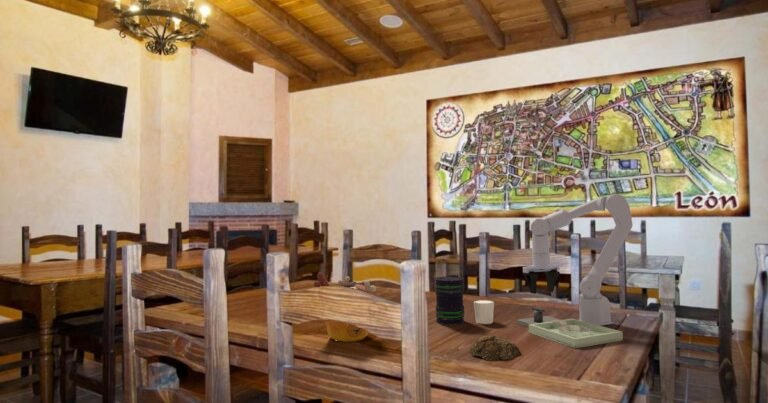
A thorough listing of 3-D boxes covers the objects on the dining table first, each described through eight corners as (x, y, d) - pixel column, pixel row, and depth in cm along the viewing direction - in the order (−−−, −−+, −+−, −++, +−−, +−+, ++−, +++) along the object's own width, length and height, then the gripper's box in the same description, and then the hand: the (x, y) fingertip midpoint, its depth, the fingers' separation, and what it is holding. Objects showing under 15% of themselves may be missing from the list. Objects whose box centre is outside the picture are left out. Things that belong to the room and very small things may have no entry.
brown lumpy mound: (483, 345, 136) (482, 327, 136) (524, 352, 128) (524, 334, 128) (460, 356, 126) (460, 337, 126) (503, 365, 118) (503, 345, 118)
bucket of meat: (384, 332, 151) (383, 269, 151) (370, 346, 135) (369, 276, 135) (326, 329, 156) (325, 268, 156) (305, 343, 140) (304, 275, 140)
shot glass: (494, 324, 159) (494, 303, 159) (474, 324, 160) (473, 303, 160) (494, 320, 165) (493, 300, 165) (474, 319, 167) (473, 299, 167)
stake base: (547, 319, 165) (546, 303, 165) (570, 326, 155) (570, 308, 155) (516, 323, 160) (516, 306, 160) (539, 330, 150) (538, 312, 150)
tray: (573, 326, 155) (572, 318, 155) (622, 340, 137) (622, 331, 137) (528, 332, 148) (528, 324, 148) (575, 348, 130) (574, 339, 130)
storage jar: (463, 318, 169) (462, 276, 169) (465, 325, 159) (464, 280, 159) (435, 318, 170) (434, 276, 170) (435, 324, 160) (434, 280, 160)
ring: (597, 335, 140) (597, 327, 140) (574, 339, 136) (574, 330, 136) (565, 326, 152) (565, 318, 152) (543, 329, 148) (543, 321, 148)
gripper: (549, 251, 172) (550, 289, 172) (516, 253, 166) (517, 292, 166) (563, 252, 165) (564, 291, 165) (530, 255, 160) (531, 295, 159)
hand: (541, 292), depth 165 cm, fingers open, 7 cm apart
